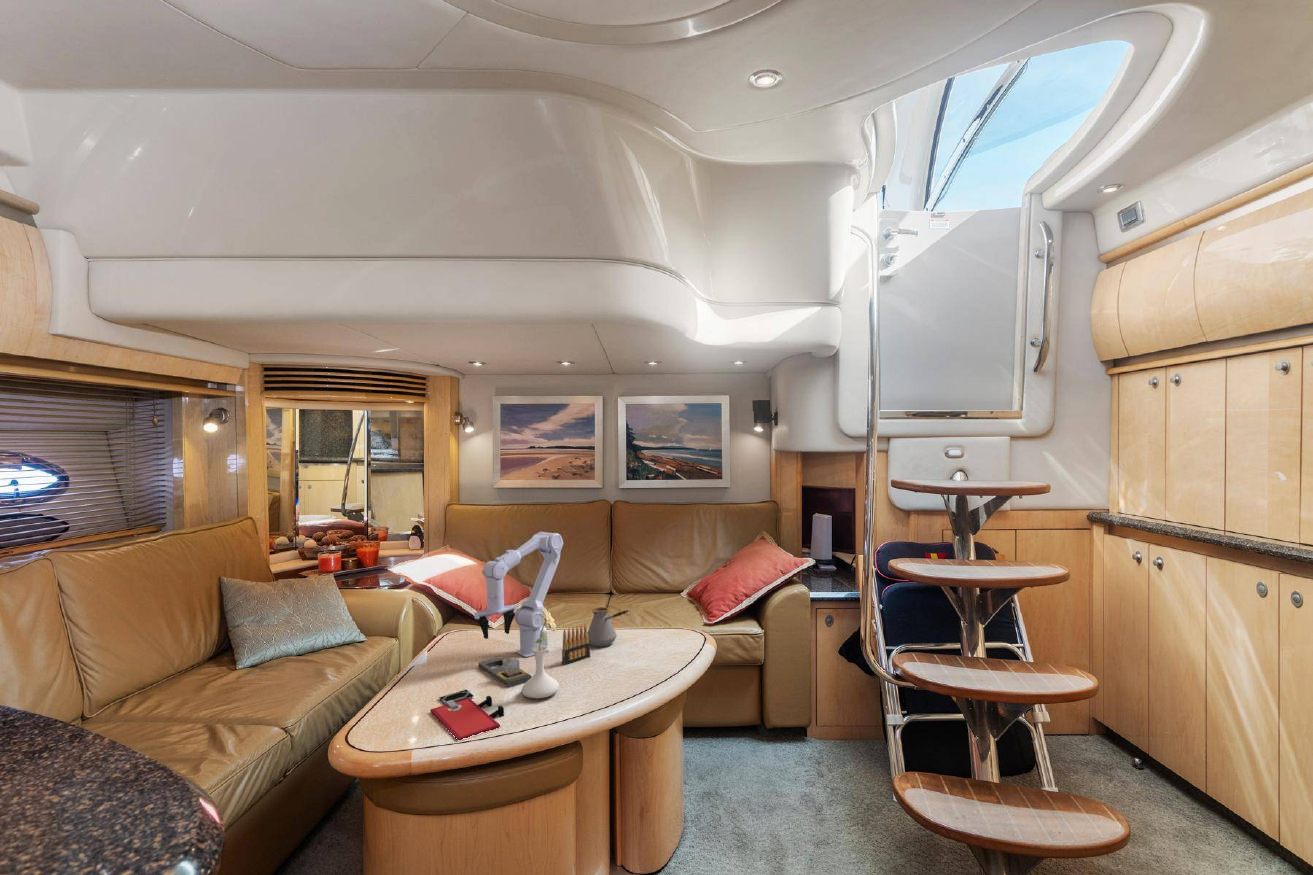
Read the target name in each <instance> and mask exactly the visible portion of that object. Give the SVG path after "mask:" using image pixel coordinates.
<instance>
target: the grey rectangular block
mask: <svg viewBox="0 0 1313 875" xmlns="http://www.w3.org/2000/svg"><path fill="white" fill-rule="evenodd" d="M504 659H505V660H502V662H503V676H505V677H506V678H510V677H514V676H517V675H520V669H521V667H520V659H518V658H517V657H515V656H513V657H510V658H509V657H508V658H504Z"/></svg>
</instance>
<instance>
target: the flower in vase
mask: <svg viewBox="0 0 1313 875" xmlns="http://www.w3.org/2000/svg"><path fill="white" fill-rule="evenodd" d="M544 608H545V610H544V609H542V615H543V618H544V622H543V624H542V625H543V627H542V630H543V628H544V626H545V627H546V626H547V627H548V628H549V630H550V631H551V632H552V633H553V632H556V631H557V630H556V628H557V624H556V623H555V619H554V618H553V617H552V615H551V612H550V611H548V610H547V608H546V607H544ZM542 630H541V634H540V639H537V641H536V642H535V643H539V646H535V647H533V648H531V651H532V652H533V653H534V655H533V656H534V658H535V673H534V675H532V678H530V679H529V680H528V681H527V682H526V683H523V686H522V688H521V693H522V695H523V696H524V697H527V698H529V699H544V698H547V697H550V696H553V695H555V694H556V693H557V692H558V691H559V690H560V688H561V687H560V684H559V682H558V681H557V680H556V679H555V678H554V677H552V676H550V675H548V673H546V672H545V666H544V664H545V663H544V662H545V655H546V650H547V649H548V650H549V648H548V647H547V646H540V643H541V642H542V641H543V640H541V637H542V639H544V640H546V639H547V640H548V634H547V635H546V633H544V632H542Z"/></svg>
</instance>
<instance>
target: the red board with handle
mask: <svg viewBox="0 0 1313 875" xmlns="http://www.w3.org/2000/svg"><path fill="white" fill-rule="evenodd" d="M473 697H474V694H472V693H471V692H470V691H469V690H468V689H463V690H459V691H456V692H453V693H449V694H446V695H442V696H439V697H438V699H439V700H440V701H442V703H444V705H441V706H437V707H433V708H432V709H430V713H431V715H432V714H433V715H432V716H433V717H434V716H435V717H436V718H435V717H434V718H435V719H436V720H437V719H438V720H439V721H438V720H437V721H438V722H439V723H440V722H441V723H440V724H441V725H442V724H443V725H444V726H445V727H446V728H447V729H446V728H445V727H444V726H443V725H442V726H443V727H444V728H445V729H446V731H448V730H449V731H450V732H451V733H452V734H451V733H450V732H449V731H448V732H449V733H450V734H451V735H454V736H455V738H457V740H461V739H463V738H468V737H470V736H472V735H477V734H479V733H481V732H486V731H489V730H492V731H494V729H495V730H497V729H496V728H498V729H500V728H501V724H500V723H499V722H498V721H497V720H496V719H494V718H496V717H497V716H498V717H500V718H501V717H504V716H505V707H504V706H503V705H502V704H501V705H497V709H496V710H495V711H492V712H491V713H490V714H488V713H487V712H486V711H485V710H484V709H483V708H484V707H485V706H487V707H488V708H490V707H492V706H493V698H492V696H490V695H486V696H485V699H484V700H483V701H482V702H479V703H478V704H477V703H476V702H475V701H474V700H473V699H471V698H473ZM499 727H500V728H499ZM489 732H490V731H489ZM486 733H487V732H486ZM477 736H478V735H477ZM455 738H454V739H455ZM468 739H469V738H468ZM457 740H456V741H457Z"/></svg>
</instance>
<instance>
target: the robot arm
mask: <svg viewBox="0 0 1313 875" xmlns="http://www.w3.org/2000/svg"><path fill="white" fill-rule="evenodd" d="M563 545H564V541H563V538H562V535H561V534H560V533H557V532H544V531H539V532H538V533H535V534H533V536H532V537H531V538H530V539H528V540H527V541H526V542H525V543H524V544H522V545H521V546H519V547H518V548H517V549H516V550H515V549H507V550H506V551H505V553H503V554H501V556H500V555H499V557H497V556H496V558H495V560H489V561H487V562H486V563H485V564H484V566H483V569H482V571H481V573H482V575H483V576H484V578H485V582H486V584H485V585H486V609H485V608H484V609H483V610H479V611H476V612H474V619H475V620H477V622H478V625H479V627H480V629H481V632H482V635H483V638H484V639H485V640H487V639H489V619H488V618H487V617H491V616H496V615H501V614H502V616H503V622H504V623H503V624H504V629H503V630H504V633H505V634H507V635H508V634H510V630H511V626H512V623H513V619H514V622H515V623H516V624H517V625H518V628H519V649H517V650H515V652H516V653H517V654H519V655H521V657H524V658H528V657H531V656H534V653H533V652H532V651H531V648H533V647H535V646H539V643H535V642H536V641H537V639H540V634H541V630H542V627H543V625H544V622H545V620H544V618H543V615H542V609H544V610H545V608H546V607H544V602H545V601H544V600H545V599H546V596H547V593H548V591H549V588H550V585H551V583H552V581H553V577H554V575H555V573H556V570H557V568H558V565H559V562H560V559H561V550H562V548H563ZM536 550H538V552H540V554H541V556H542V557H543V562H542V564H541V566H540V569H539V570H538V571H539V572H538V574H537V577H536V579H535V581H534V584H533V586H532V590H531V591H530V594H529V597H528V598H527V600H525V601H524V602H522V603H521V605H520V607H519V608H518V609H517V605H516V604H510V605H509V604H508V605H505V593H504V592H505V590H504V589H505V588H504V578H505V577H506V575H507V572H509V571H510V570H511V569H513V568H514V567H516V566H518V564H520V563H521V561H522V560H521V559H522V558H524V557H525V556H527V555H528V554H530V553H532V552H534V551H536ZM542 632H544V633H546V635H547V636H548V630H547V628H546V625H545V626H544V628H543V630H542ZM541 640H543V641H542V642H541V643H540V646H547V647H548V642H549V641H548V638H547V639H546V640H544V639H542V637H541ZM549 651H550V650H549V648H548V649H547V650H546V652H549ZM546 652H545V653H546Z"/></svg>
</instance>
